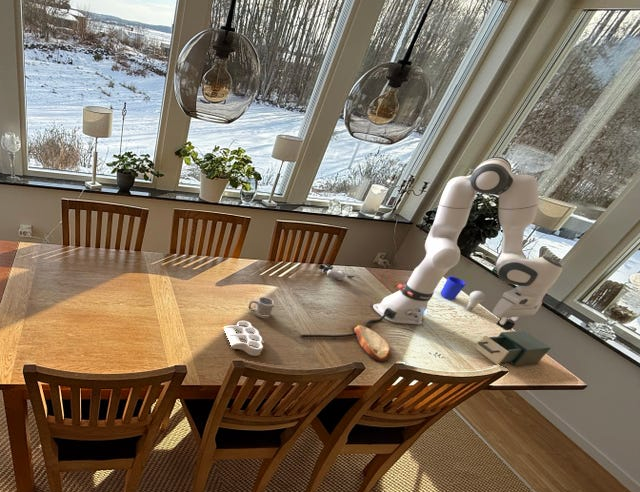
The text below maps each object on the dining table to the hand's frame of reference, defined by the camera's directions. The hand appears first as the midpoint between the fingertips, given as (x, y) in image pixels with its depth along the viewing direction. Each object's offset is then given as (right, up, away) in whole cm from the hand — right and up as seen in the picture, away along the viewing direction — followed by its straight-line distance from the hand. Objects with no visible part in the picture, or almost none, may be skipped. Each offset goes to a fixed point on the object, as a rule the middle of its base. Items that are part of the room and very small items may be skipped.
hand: (505, 323), depth 167 cm
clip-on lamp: (-51, +24, +46) cm, 73 cm away
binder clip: (0, -1, +1) cm, 2 cm away
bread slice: (-59, -9, -3) cm, 60 cm away
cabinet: (+7, -14, +4) cm, 16 cm away
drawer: (-5, -14, 0) cm, 15 cm away
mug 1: (-103, +4, +7) cm, 103 cm away
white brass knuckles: (-113, -7, -12) cm, 113 cm away
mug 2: (+7, +14, +45) cm, 47 cm away
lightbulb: (+10, +6, +34) cm, 36 cm away
